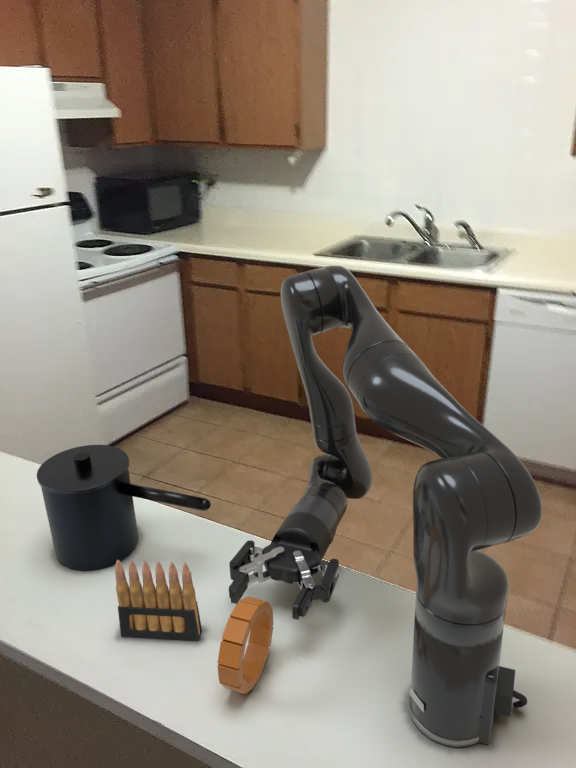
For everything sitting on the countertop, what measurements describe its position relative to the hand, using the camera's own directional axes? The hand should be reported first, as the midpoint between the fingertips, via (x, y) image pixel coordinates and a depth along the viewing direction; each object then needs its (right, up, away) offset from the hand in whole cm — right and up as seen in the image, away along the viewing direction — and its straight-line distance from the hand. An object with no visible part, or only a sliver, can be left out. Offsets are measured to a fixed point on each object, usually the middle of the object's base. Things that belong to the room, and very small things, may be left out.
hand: (263, 606), depth 84 cm
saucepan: (-21, +1, +21) cm, 30 cm away
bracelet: (-2, -8, -2) cm, 8 cm away
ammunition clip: (-14, -6, +5) cm, 16 cm away
